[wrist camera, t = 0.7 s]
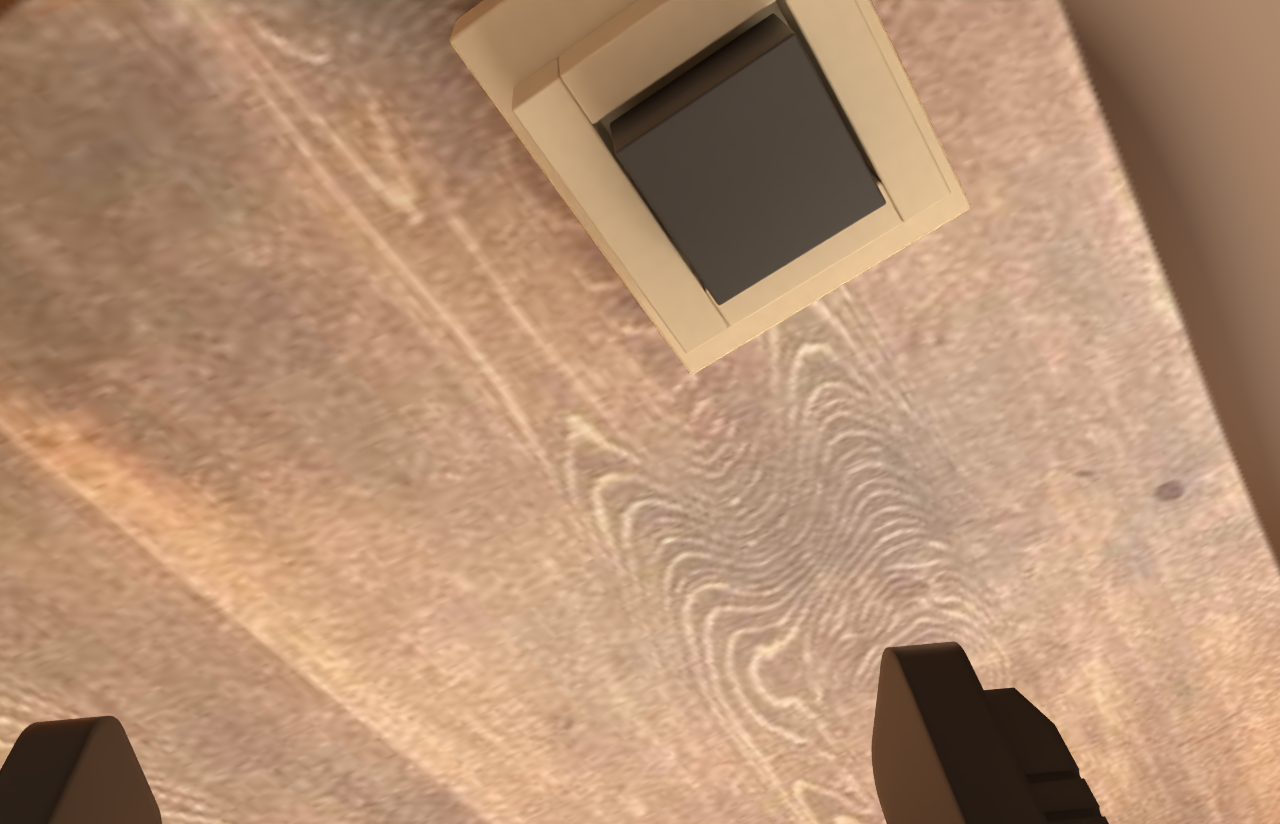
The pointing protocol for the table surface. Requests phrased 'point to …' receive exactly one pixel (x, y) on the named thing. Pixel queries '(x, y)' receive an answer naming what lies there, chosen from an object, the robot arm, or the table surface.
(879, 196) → the black key
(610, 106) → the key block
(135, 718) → the table surface
